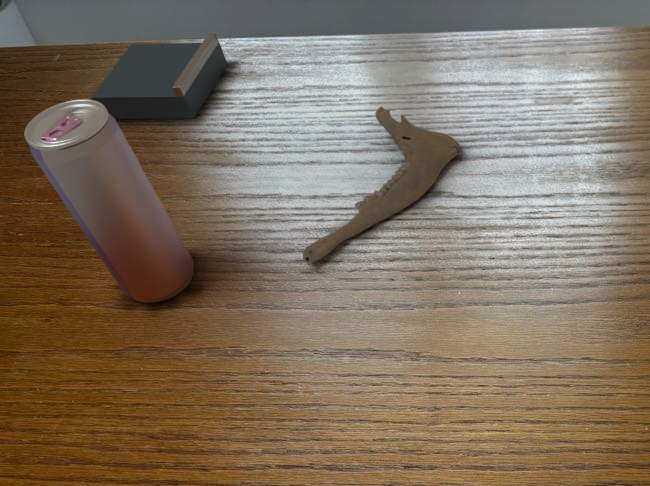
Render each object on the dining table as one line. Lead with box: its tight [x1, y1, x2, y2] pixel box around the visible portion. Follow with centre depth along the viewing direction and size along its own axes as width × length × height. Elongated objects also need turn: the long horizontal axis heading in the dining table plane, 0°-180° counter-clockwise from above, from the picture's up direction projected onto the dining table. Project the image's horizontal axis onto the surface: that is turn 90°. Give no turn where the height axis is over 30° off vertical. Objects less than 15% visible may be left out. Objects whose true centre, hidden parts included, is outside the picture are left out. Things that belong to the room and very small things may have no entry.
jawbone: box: [302, 106, 460, 266], centre depth 73 cm, size 9×20×2 cm, turn 168°
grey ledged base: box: [90, 32, 229, 120], centre depth 87 cm, size 10×10×4 cm
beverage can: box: [23, 98, 195, 304], centre depth 64 cm, size 6×6×15 cm
